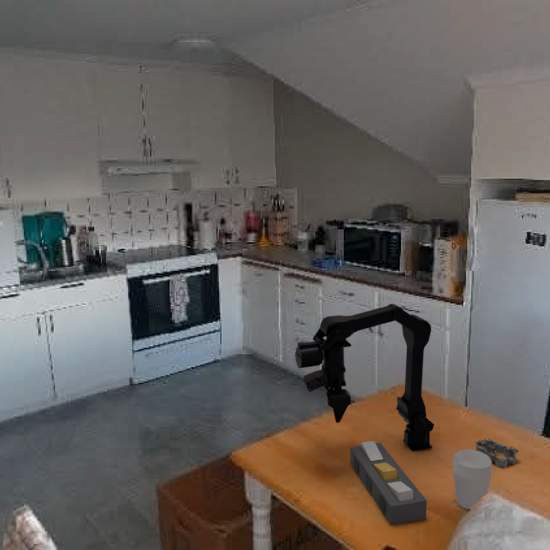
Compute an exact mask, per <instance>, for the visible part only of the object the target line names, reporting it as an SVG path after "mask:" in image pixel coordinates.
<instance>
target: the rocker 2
mask: <svg viewBox="0 0 550 550" xmlns="http://www.w3.org/2000/svg"><path fill="white" fill-rule="evenodd" d="M373 467H374V468H375V470H376V471H377V473H378V474H379V475H380V477H381V478H382V479H383V480H384V481H386V480H392V479H398V478H397V470H396V469H395V468H393V467H392V466H390V465H389V464H388V463H386V462H385V463H379V464H373Z"/></svg>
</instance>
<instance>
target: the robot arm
mask: <svg viewBox="0 0 550 550" xmlns="http://www.w3.org/2000/svg"><path fill="white" fill-rule="evenodd" d="M392 322H396V323H398V324H399V325H401V329H402V336H403V339H404V342H405V345H406V355H405V356H406V357H405V358H406V359H405V376H404V377H405V380H404V381H405V382H404V392H403V394H402V395H401V396H398V397H396V401H397V404H396V408H395V410H396V411H397V413H398V414H399V416H400V417H401V418H402V419H403V421H404V422H406V424H405V429H404V431H403V439H402V441H403V443H404V444H405V446H407V448H408V449H409V450H410V451H412V452H416V451H424V450H430V449H433V446H432V445H431V444H430V442H431V441H430V440H431V439H430V438H431V432H433V429H434V426H435V423H433V422H432V421H431V420H430V419H429V418H427V410H426V405H425V401H424V399H423V396H422V391H423V377H424V376H423V374H424V373H423V372H424V353H425V347H426V346H427V344H428V343H429V342H430V338H431V333H432V325H431V323H429V321H428V320H426V319H424V318H422V317H420V316H418V315H416V314H410V313H408V312H407V311H406V310H404V309H403V308H402V307H401V306H399V305H397V304H395V303H390V304H387V305H385V306H381V307H378V308H375V309H371V310H366V311H363V312H359V313H356V314H353V315H339V314H338V315H337V314H336V315H329V316H325V317H324V318H323V319H322V320H321V321H320V325H319V328H318V329H317V331H316V333H315V334H314V335H313V337H312V340H313V341H307V342H304V341H303V342H298V343H297V345H296V346H297V347H296V348H295V352H294V358H295V361H296V366H297V368H298V369H306V368H310V367H318V366H321V369H318V370H315V371H312V372H310V373H307V374H305V375H304V376H303V382H304V385H305V387H306V389H307V391H308V392H309V393H310V392H311V393H312V392H313V391H316V390H318V389H320V388H322V387H323V388H324V389H325V390H326V391H327V392H326V393H325V398H326V399H325V400H326V403H327V406H328V407H330V408H331V409H332V412H333V415H334V417H333V418H334V420H335V423H336V424H337V423H338V424H340V423H341V421H342V419H343V417H344V414H345V413H346V411H347V409H348V407H350V405H352V397H351V394H350V391H348V390H347V389H346V388H343V387H347V383H346V379H345V375H346V374H345V373H346V371H347V370H346V367H345V348H350V347H352V343H350V342H349V341H348V340H347V339H348V338H350V337H351V336H352V335H354V334H355V333H357V332H359V331H363V330H367V329H370V328H374V327H377V326H382V325H385V324H389V323H392Z"/></svg>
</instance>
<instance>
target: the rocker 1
mask: <svg viewBox="0 0 550 550" xmlns="http://www.w3.org/2000/svg"><path fill="white" fill-rule="evenodd" d="M375 443H376V442H375V440H368V441H365V442H364V441H363V442H361V449H362V452H363V453H364V454H365V456H366V457H367V459H368V460H369V461H370V462H375V461H382V460H383V457H382V455H381V453H380V451H379V450H378V448H377V446H376V444H375Z"/></svg>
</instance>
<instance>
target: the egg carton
mask: <svg viewBox="0 0 550 550" xmlns="http://www.w3.org/2000/svg"><path fill="white" fill-rule="evenodd" d="M473 442H474V444H475V445H476V448H475V449H476V451H479V452H482V453H484V454H486V455H488V456H489V457H490V459H491V461H492V463H493V462H494V466H495V467H496V468H497V467H498V468H499V467H500V468H507V467H508V464H511V465H514V464H516V458H517V457H516V455H517V454H518V453H519V451H520V450H519V449H517V448H516V447H513V446H507V445H503V444H502V443H501V442H497V441H493V439H491V438H488V439H487V438H484V439H481V440H478V441H473ZM495 451H496V452H495ZM496 453H497V454H502V453H503V454H502V455H504V458H503V457H497V455H496Z"/></svg>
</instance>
